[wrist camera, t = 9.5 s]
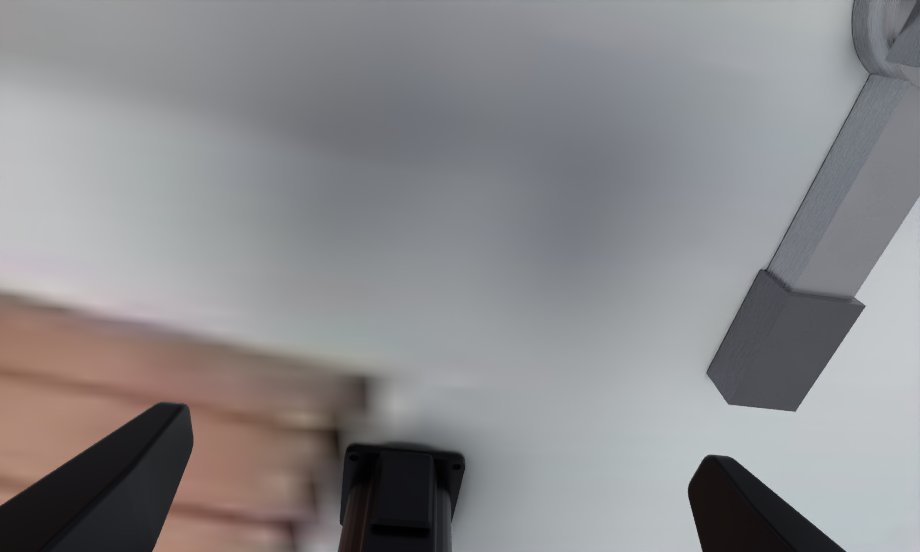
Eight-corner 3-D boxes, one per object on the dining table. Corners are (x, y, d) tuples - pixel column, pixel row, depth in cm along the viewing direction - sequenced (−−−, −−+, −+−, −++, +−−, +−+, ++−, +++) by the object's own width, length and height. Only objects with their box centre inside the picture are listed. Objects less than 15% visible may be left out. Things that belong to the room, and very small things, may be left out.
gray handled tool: (801, 384, 26) (883, 473, 21) (672, 369, 25) (727, 458, 20) (1133, -127, 15) (1442, -181, 11) (933, -177, 15) (1169, -259, 10)
